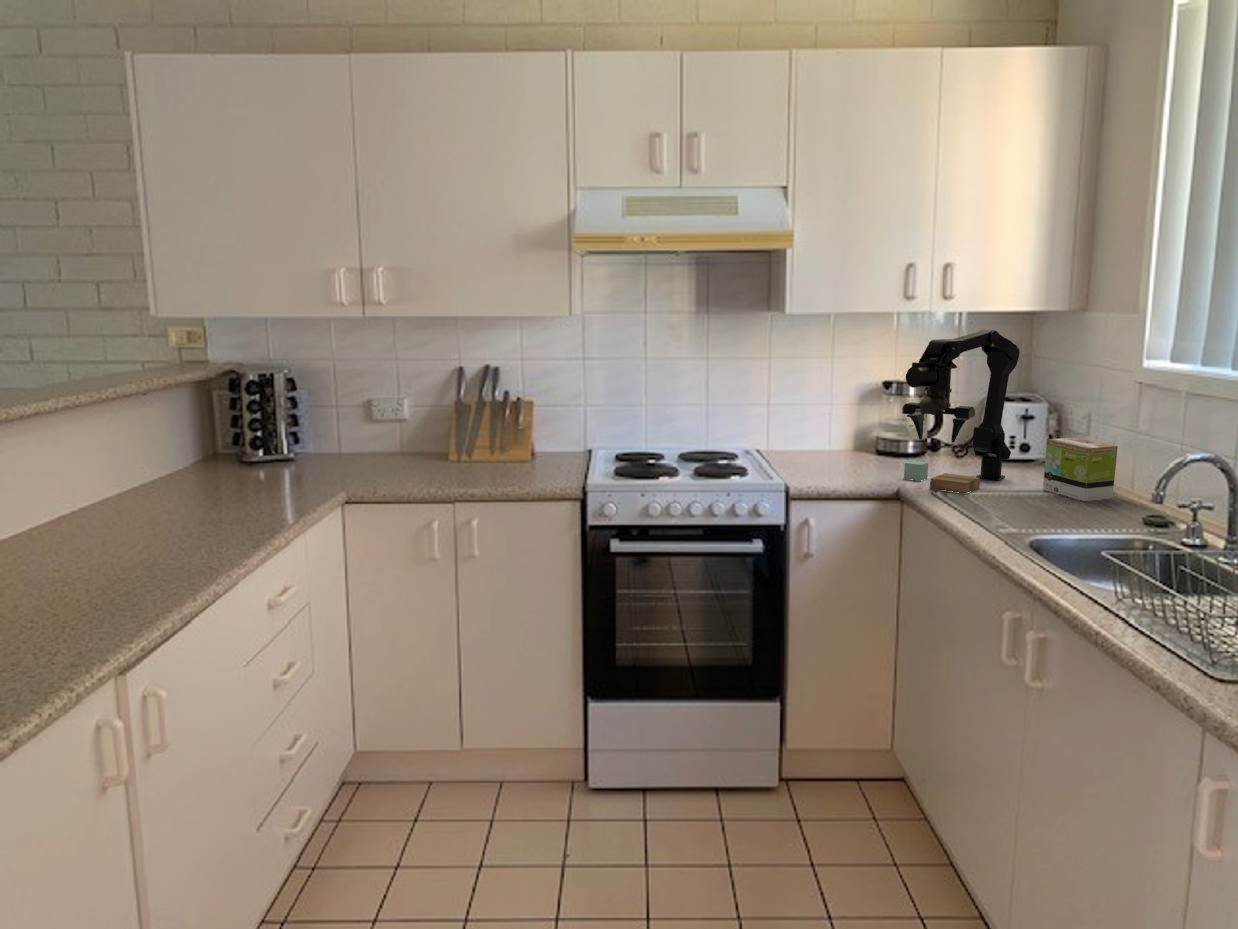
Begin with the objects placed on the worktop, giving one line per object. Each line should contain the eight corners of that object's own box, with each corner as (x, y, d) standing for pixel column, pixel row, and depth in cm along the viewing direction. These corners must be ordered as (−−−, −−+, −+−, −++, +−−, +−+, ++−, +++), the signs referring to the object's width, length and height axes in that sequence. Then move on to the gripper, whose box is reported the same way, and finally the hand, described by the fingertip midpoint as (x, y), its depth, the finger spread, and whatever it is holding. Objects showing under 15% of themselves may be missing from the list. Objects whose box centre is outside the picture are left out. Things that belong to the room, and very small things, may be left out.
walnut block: (944, 485, 265) (944, 473, 264) (979, 489, 258) (980, 477, 258) (929, 490, 257) (930, 478, 257) (965, 495, 251) (966, 483, 250)
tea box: (1041, 491, 255) (1045, 438, 252) (1069, 488, 258) (1074, 436, 256) (1084, 502, 241) (1089, 446, 238) (1114, 499, 244) (1119, 444, 242)
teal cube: (911, 477, 275) (912, 460, 274) (927, 479, 271) (928, 462, 270) (903, 479, 271) (904, 462, 270) (920, 481, 268) (921, 464, 267)
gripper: (895, 386, 256) (893, 441, 259) (963, 390, 244) (959, 448, 247) (911, 382, 264) (908, 436, 267) (977, 386, 253) (974, 442, 256)
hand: (936, 440), depth 259 cm, fingers open, 9 cm apart
